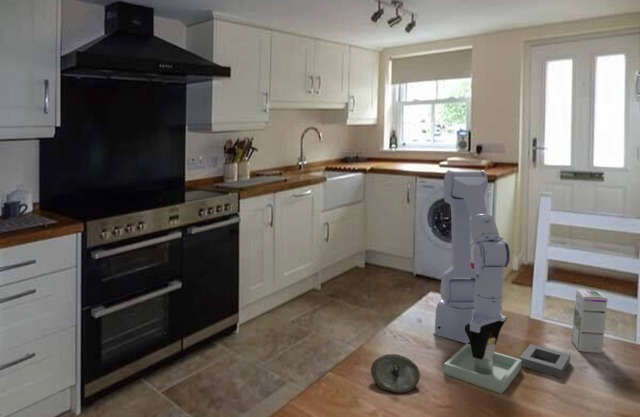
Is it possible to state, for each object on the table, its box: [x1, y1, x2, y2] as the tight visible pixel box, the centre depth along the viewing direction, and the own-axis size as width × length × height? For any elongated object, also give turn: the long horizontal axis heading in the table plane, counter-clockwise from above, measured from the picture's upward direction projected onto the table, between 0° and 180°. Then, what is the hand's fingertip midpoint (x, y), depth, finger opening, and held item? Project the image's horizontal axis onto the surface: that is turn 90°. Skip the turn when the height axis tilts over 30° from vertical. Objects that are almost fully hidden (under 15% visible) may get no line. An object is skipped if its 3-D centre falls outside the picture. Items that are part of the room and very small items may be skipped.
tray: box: [443, 343, 522, 395], centre depth 109 cm, size 13×13×2 cm
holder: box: [519, 343, 571, 379], centre depth 113 cm, size 9×9×2 cm
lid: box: [370, 353, 421, 394], centre depth 105 cm, size 11×10×5 cm
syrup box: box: [571, 288, 608, 354], centre depth 121 cm, size 6×6×14 cm
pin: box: [474, 335, 496, 375], centre depth 108 cm, size 4×4×8 cm
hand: (484, 351), depth 108 cm, fingers open, 7 cm apart
